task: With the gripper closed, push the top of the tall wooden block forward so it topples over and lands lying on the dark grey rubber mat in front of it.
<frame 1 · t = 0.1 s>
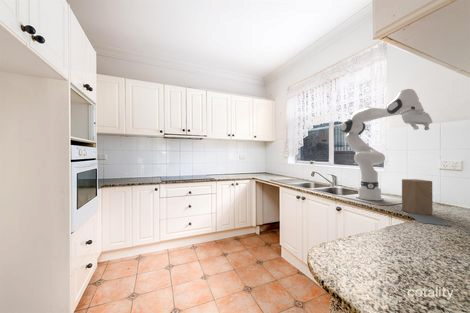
hand: (421, 129, 125), 52 cm above the countertop, tool tilted 20°, fingers open, 8 cm apart
mat: (427, 219, 106), on the countertop
wooden block: (416, 212, 120), on the countertop
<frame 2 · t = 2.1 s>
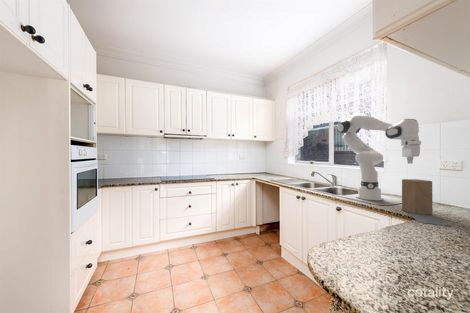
hand: (410, 163, 130), 30 cm above the countertop, tool pointing down, fingers closed
nothing on the countertop moved.
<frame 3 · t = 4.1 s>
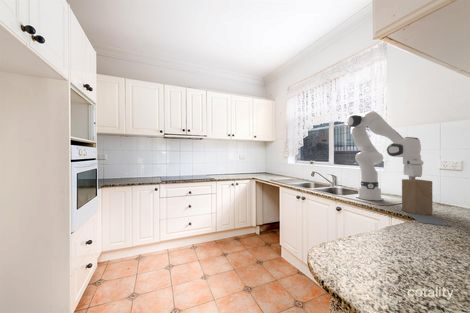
hand: (412, 182, 127), 17 cm above the countertop, tool pointing down, fingers closed
wooden block: (416, 212, 120), on the countertop, touching gripper
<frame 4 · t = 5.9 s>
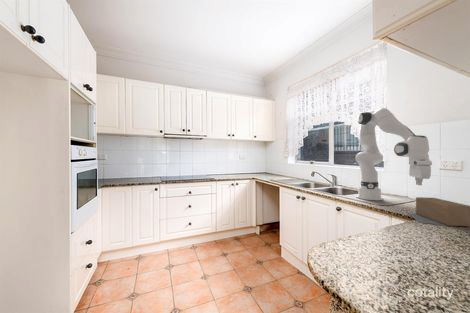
hand: (418, 185, 117), 17 cm above the countertop, tool pointing down, fingers closed
wooden block: (424, 205, 115), point 5 cm above the countertop, touching mat
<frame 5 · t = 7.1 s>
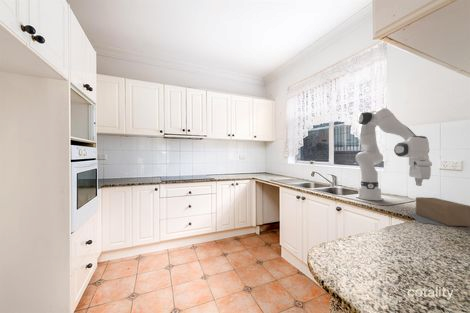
hand: (418, 185, 117), 17 cm above the countertop, tool pointing down, fingers closed
nothing on the countertop moved.
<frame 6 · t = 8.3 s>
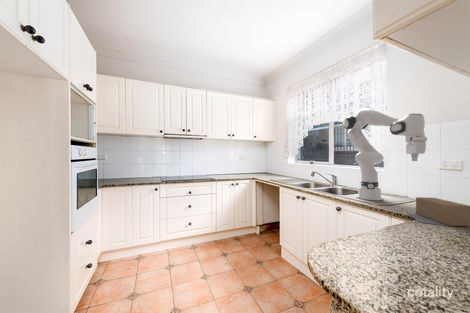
hand: (414, 161, 123), 32 cm above the countertop, tool pointing down, fingers closed
nothing on the countertop moved.
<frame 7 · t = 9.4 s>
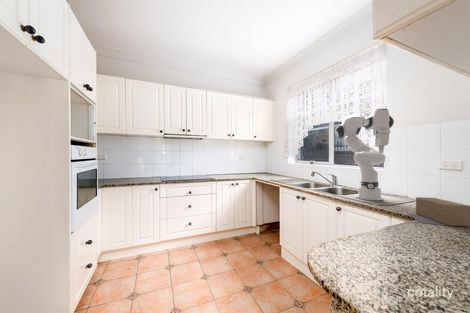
hand: (381, 152, 131), 37 cm above the countertop, tool pointing down, fingers closed
nothing on the countertop moved.
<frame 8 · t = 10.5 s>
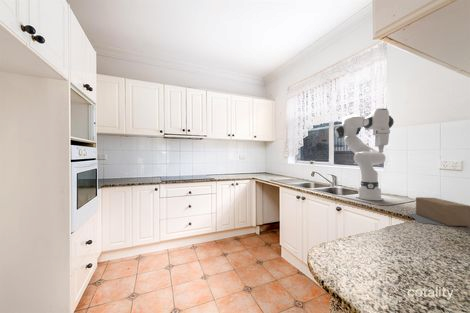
hand: (381, 152, 131), 37 cm above the countertop, tool pointing down, fingers closed
nothing on the countertop moved.
at the end: wooden block tilted 90°; wooden block moved 7.5 cm from its start; wooden block 11.1 cm from the mat (horizontally) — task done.
